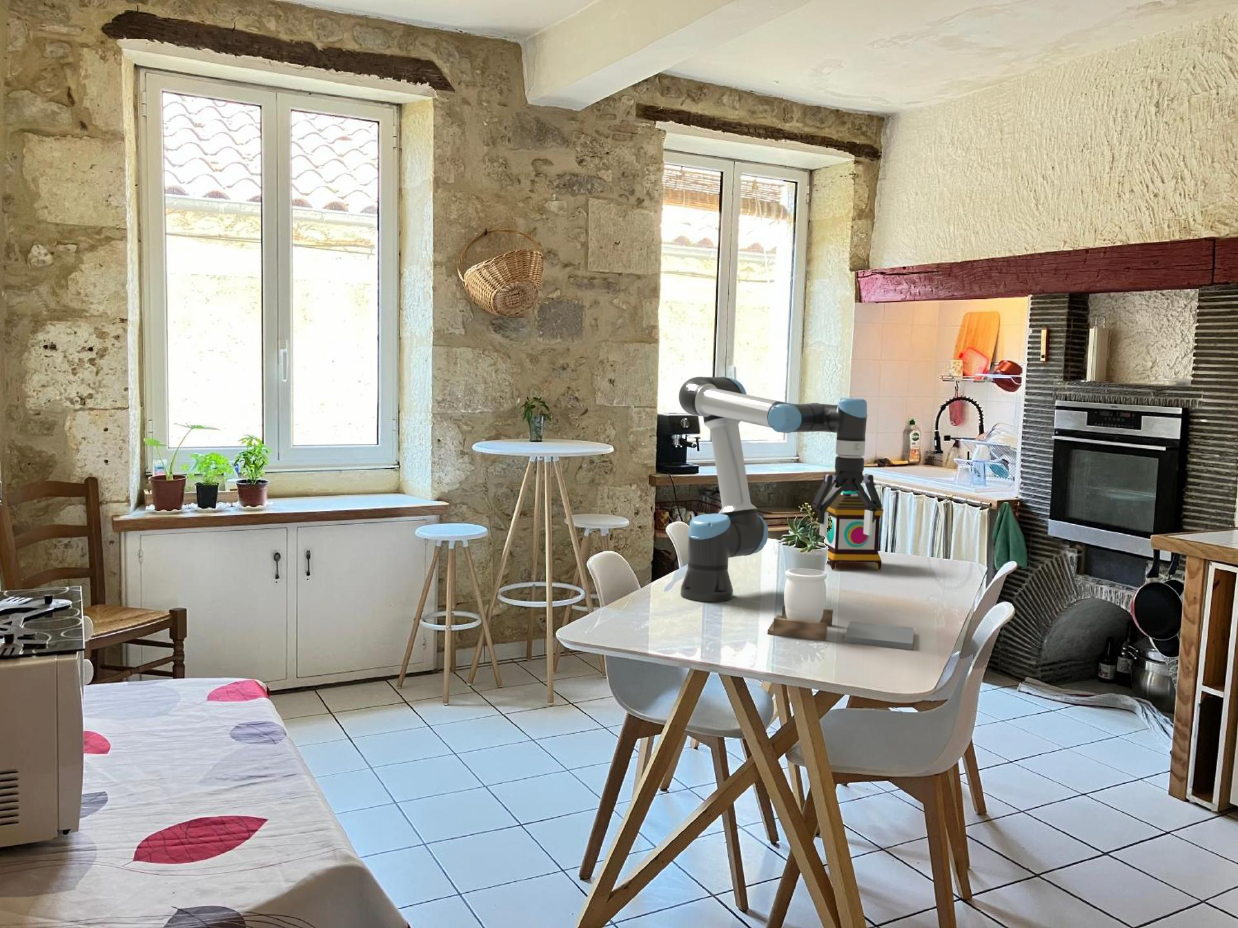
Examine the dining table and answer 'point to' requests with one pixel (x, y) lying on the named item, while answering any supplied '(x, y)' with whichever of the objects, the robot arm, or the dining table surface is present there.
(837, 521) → the decorative lantern
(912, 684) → the dining table surface
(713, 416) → the robot arm
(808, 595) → the jar
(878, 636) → the plate
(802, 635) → the brown wooden u-shaped frame
